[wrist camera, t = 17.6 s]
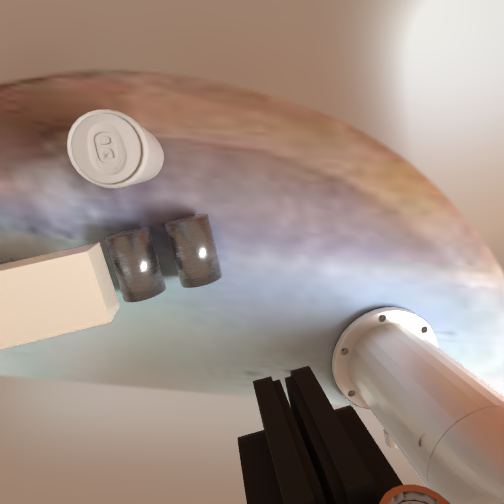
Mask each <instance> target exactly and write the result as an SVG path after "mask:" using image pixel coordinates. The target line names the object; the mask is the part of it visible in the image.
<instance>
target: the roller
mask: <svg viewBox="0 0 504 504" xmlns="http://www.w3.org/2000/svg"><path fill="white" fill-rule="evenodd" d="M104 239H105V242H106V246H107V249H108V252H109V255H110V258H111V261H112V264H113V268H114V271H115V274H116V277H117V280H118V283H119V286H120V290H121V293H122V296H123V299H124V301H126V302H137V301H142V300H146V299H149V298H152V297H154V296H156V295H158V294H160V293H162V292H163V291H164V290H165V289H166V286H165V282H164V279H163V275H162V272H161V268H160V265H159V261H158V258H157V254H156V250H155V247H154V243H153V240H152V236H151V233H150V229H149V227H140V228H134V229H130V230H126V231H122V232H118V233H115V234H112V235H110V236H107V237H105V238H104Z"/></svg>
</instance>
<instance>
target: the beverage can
mask: <svg viewBox="0 0 504 504" xmlns="http://www.w3.org/2000/svg"><path fill="white" fill-rule="evenodd" d="M67 152H68V156H69V158H70V161H71V164H72V165H73V166H74V168H75V169H76V171H77V172H78V173H79V174H80V175H81V176H82V177H84V178H85V179H86V180H88V181H89V182H91V183H93V184H95V185H97V186H101V187H105V188H120V187H124V186H128V185H133V184H137V183H141V182H144V181H148V180H150V179H152V178H154V177H155V176H156V175H157V174H158V173H159V171H160V169H161V168H162V165H163V161H164V155H163V150H162V148H161V145H160V144H159V142H158V141H157V139H156V138H155V137H154V136H153V135H152V134H151V133H150V132H148V131H147V130H146V129H144V128H143V127H142V126H141V125H139V124H138V123H137V122H136V121H135V120H133V119H132V118H130V117H129V116H127V115H125V114H124V113H122V112H118V111H115V110H112V109H99V110H94V111H90V112H87V113H86V114H84V115H82V116H80V117H79V118H78V119H77V120H76V121H75V122H74V124H73V125H72V127H71V129H70V131H69V133H68V138H67Z"/></svg>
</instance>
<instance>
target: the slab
mask: <svg viewBox="0 0 504 504" xmlns="http://www.w3.org/2000/svg"><path fill="white" fill-rule="evenodd" d="M119 307H120V305H119V302H118V298H117V295H116V292H115V289H114V286H113V283H112V280H111V277H110V274H109V271H108V267H107V264H106V261H105V258H104V255H103V252H102V249H101V246H100V243H99V242H98V243H94V244H89V245H85V246H80V247H76V248H71V249H67V250H63V251H58V252H54V253H49V254H45V255H41V256H36V257H32V258H27V259H23V260H19V261H14V262H10V263H5V264H1V265H0V350H1V349H5V348H9V347H13V346H17V345H21V344H26V343H30V342H34V341H38V340H42V339H46V338H50V337H54V336H58V335H62V334H66V333H70V332H74V331H78V330H82V329H86V328H90V327H94V326H98V325H102V324H106V323H110V322H111V321H112V320H113V318H114V316H115V314H116V312H117V311H118V309H119Z"/></svg>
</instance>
